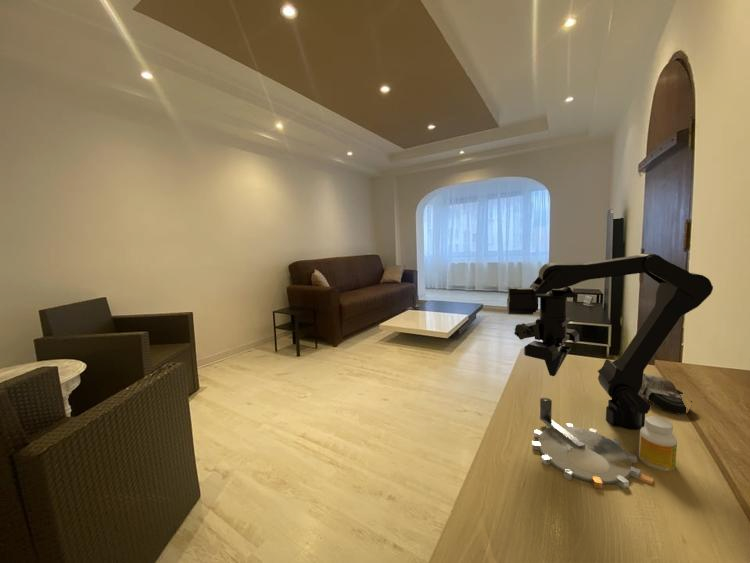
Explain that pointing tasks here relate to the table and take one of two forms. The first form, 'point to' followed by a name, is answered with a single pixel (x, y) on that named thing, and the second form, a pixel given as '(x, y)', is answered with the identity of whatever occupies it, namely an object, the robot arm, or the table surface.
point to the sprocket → (583, 452)
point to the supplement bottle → (658, 444)
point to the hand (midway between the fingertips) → (552, 375)
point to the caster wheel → (662, 394)
